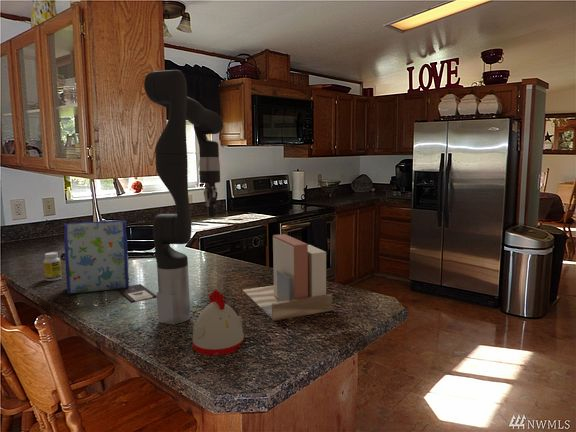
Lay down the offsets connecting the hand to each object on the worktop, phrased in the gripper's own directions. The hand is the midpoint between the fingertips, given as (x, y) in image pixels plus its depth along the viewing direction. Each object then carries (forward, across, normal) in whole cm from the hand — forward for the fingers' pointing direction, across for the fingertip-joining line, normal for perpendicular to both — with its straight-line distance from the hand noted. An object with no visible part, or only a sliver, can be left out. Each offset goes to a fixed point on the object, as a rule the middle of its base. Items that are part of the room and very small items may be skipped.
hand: (211, 216), depth 160 cm
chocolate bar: (+29, +8, +27) cm, 40 cm away
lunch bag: (+28, +22, +40) cm, 53 cm away
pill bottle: (+27, +42, +58) cm, 77 cm away
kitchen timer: (+30, -46, +9) cm, 56 cm away
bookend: (+28, -33, -13) cm, 45 cm away
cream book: (+28, -32, -25) cm, 50 cm away
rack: (+29, -24, -19) cm, 42 cm away
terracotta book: (+28, -28, -19) cm, 44 cm away
